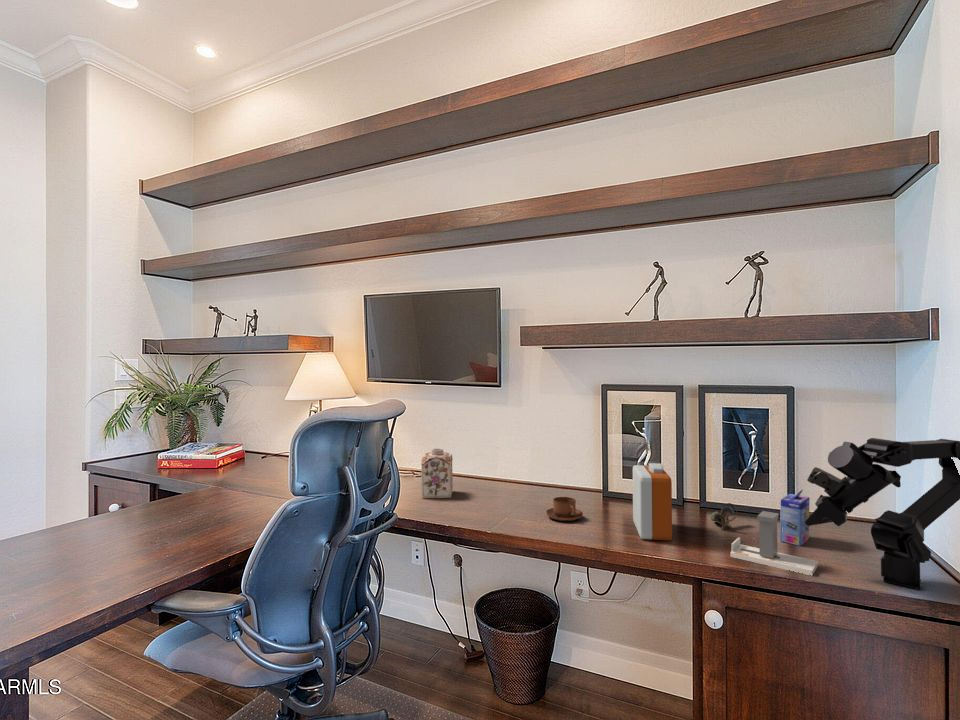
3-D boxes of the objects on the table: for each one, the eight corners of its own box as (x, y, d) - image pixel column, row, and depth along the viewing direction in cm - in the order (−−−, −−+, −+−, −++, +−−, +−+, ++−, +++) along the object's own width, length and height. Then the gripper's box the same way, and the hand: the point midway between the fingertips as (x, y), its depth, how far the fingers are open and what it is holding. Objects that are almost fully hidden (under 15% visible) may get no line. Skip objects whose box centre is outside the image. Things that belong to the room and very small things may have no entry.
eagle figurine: (744, 529, 148) (741, 514, 157) (729, 507, 149) (726, 494, 158) (719, 539, 152) (717, 525, 160) (704, 518, 152) (703, 505, 161)
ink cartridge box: (802, 547, 137) (801, 494, 137) (779, 542, 141) (778, 491, 141) (810, 538, 144) (809, 488, 144) (788, 533, 148) (788, 485, 148)
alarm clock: (672, 542, 141) (672, 470, 141) (640, 540, 142) (639, 469, 142) (661, 522, 159) (660, 458, 159) (632, 521, 160) (632, 457, 161)
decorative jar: (453, 491, 201) (452, 446, 201) (451, 498, 189) (451, 451, 189) (423, 491, 201) (423, 446, 201) (420, 498, 189) (420, 451, 189)
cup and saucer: (590, 519, 163) (590, 500, 163) (566, 526, 156) (566, 506, 156) (562, 510, 173) (562, 493, 173) (538, 517, 165) (538, 499, 165)
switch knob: (779, 553, 128) (778, 513, 128) (774, 559, 124) (773, 518, 124) (763, 549, 131) (763, 510, 131) (758, 555, 126) (757, 515, 127)
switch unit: (817, 565, 123) (817, 553, 124) (812, 575, 118) (811, 562, 118) (739, 548, 136) (739, 536, 136) (730, 556, 130) (730, 544, 130)
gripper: (835, 452, 125) (786, 489, 132) (825, 464, 111) (771, 504, 118) (876, 488, 120) (822, 525, 127) (871, 505, 106) (811, 545, 113)
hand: (806, 523), depth 122 cm, fingers closed
